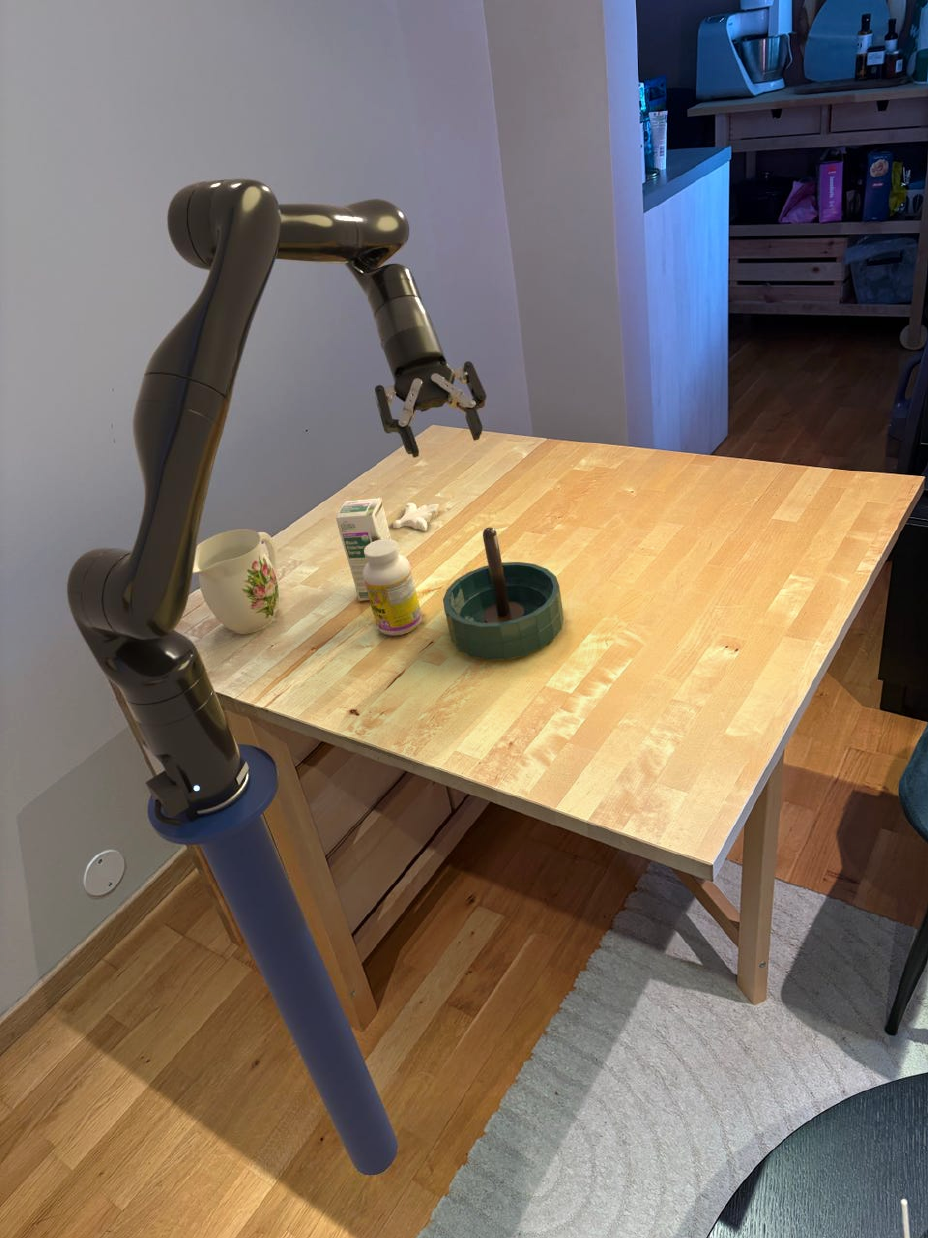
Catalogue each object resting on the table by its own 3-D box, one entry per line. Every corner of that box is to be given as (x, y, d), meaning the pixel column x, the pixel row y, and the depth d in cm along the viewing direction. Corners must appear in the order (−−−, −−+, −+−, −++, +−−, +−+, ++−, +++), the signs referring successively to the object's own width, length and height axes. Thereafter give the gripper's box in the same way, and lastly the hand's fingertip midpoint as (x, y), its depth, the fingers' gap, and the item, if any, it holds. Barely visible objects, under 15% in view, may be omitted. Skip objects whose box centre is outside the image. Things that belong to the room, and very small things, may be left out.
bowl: (505, 678, 117) (498, 640, 114) (428, 637, 128) (420, 602, 125) (587, 619, 125) (583, 582, 122) (508, 586, 136) (502, 551, 132)
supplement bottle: (371, 621, 134) (350, 545, 127) (413, 605, 136) (394, 529, 129) (386, 643, 129) (365, 565, 122) (429, 626, 130) (411, 548, 123)
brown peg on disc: (505, 641, 123) (487, 543, 115) (477, 628, 127) (458, 532, 118) (534, 621, 126) (519, 524, 117) (506, 609, 129) (489, 513, 121)
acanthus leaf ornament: (408, 509, 163) (406, 499, 162) (443, 510, 160) (441, 500, 159) (390, 529, 157) (387, 520, 156) (425, 531, 154) (423, 521, 153)
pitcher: (315, 587, 145) (291, 510, 138) (254, 656, 132) (224, 574, 124) (258, 583, 149) (232, 508, 142) (193, 649, 136) (160, 570, 129)
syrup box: (357, 602, 139) (333, 517, 131) (367, 581, 144) (344, 498, 136) (393, 600, 138) (371, 514, 130) (402, 579, 143) (381, 495, 135)
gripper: (358, 338, 120) (396, 449, 117) (460, 311, 122) (500, 419, 119) (359, 367, 128) (395, 471, 124) (456, 341, 130) (494, 443, 127)
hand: (447, 446), depth 122 cm, fingers open, 8 cm apart
